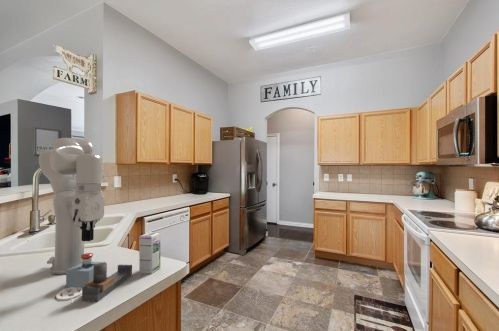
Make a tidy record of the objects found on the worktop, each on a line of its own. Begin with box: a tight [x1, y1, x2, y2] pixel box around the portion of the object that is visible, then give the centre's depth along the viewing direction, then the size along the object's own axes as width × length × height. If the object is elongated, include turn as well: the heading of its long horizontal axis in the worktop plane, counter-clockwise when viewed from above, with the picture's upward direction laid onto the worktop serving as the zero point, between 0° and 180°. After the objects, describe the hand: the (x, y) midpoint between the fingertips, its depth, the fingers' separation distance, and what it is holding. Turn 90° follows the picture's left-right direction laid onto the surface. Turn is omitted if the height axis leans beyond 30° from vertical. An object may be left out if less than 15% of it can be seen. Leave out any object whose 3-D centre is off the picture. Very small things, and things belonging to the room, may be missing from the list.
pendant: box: [55, 287, 82, 304], centre depth 73 cm, size 7×11×1 cm, turn 44°
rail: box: [81, 264, 133, 303], centre depth 79 cm, size 5×18×4 cm, turn 176°
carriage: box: [85, 262, 114, 291], centre depth 74 cm, size 6×5×7 cm
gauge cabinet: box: [65, 261, 106, 289], centre depth 82 cm, size 8×8×6 cm
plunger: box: [81, 252, 94, 267], centre depth 82 cm, size 3×3×4 cm
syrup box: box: [138, 231, 161, 275], centre depth 93 cm, size 6×6×14 cm
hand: (87, 240), depth 82 cm, fingers closed
